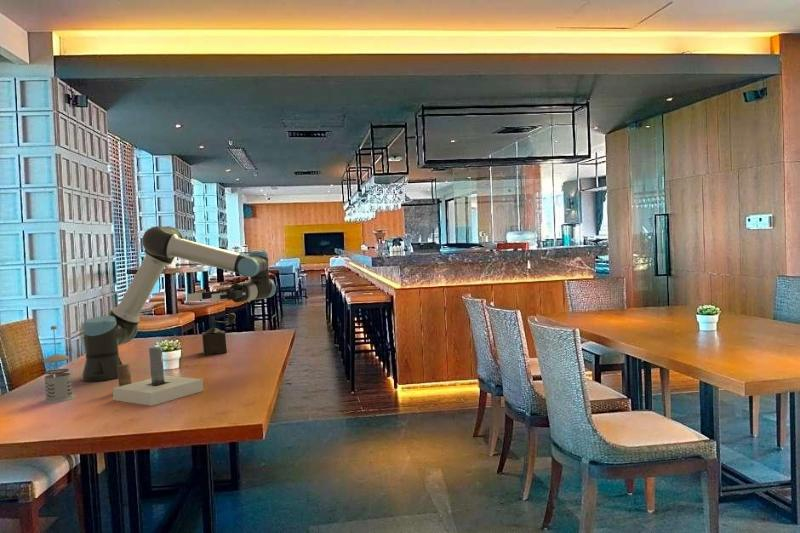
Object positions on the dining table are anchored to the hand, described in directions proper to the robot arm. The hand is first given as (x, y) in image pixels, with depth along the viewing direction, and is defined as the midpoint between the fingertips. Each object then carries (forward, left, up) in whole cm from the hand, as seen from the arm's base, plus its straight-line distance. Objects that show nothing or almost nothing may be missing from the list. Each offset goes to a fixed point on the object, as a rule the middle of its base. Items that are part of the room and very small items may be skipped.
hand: (199, 298), depth 235 cm
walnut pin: (-13, -24, -30) cm, 40 cm away
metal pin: (+5, -24, -30) cm, 38 cm away
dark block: (-42, +44, -30) cm, 68 cm away
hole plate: (+5, -24, -30) cm, 39 cm away
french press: (-27, -40, -30) cm, 57 cm away
